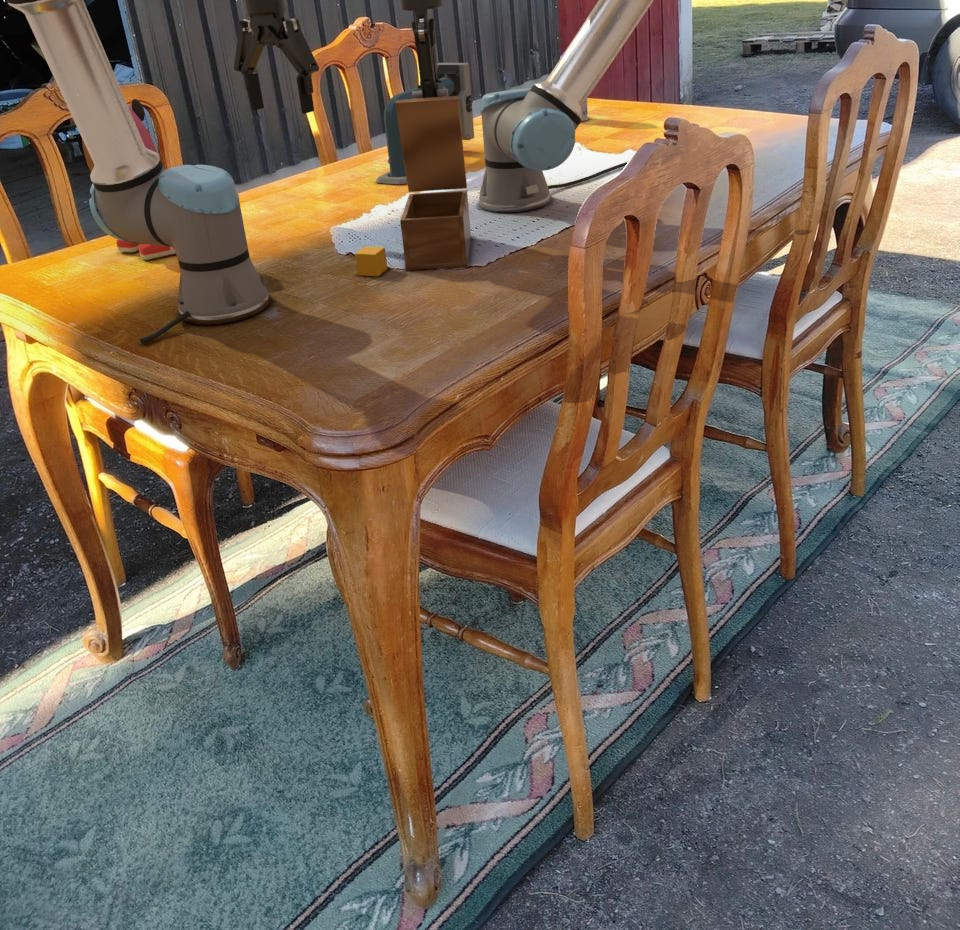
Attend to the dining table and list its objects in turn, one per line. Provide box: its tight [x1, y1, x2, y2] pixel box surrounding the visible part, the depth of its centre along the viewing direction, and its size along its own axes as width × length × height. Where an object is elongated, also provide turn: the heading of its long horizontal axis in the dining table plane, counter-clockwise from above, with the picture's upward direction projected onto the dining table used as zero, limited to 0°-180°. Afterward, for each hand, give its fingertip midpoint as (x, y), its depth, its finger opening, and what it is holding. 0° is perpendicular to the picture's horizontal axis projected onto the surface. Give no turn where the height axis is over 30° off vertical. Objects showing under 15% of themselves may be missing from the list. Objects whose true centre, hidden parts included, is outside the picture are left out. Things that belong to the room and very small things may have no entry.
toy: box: [81, 98, 176, 260], centre depth 191 cm, size 21×10×30 cm, turn 47°
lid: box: [395, 89, 468, 193], centre depth 182 cm, size 18×11×9 cm
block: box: [354, 245, 388, 277], centre depth 176 cm, size 4×4×4 cm
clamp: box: [375, 62, 475, 185], centre depth 238 cm, size 35×9×21 cm, turn 151°
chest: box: [399, 189, 472, 271], centre depth 181 cm, size 17×11×9 cm, turn 178°
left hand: (282, 110), depth 189 cm, fingers open, 13 cm apart
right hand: (433, 122), depth 182 cm, fingers closed on lid, 2 cm apart
